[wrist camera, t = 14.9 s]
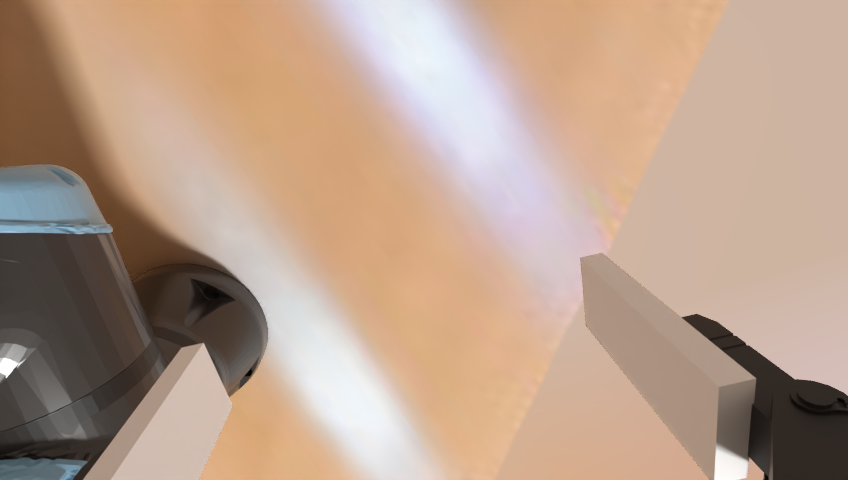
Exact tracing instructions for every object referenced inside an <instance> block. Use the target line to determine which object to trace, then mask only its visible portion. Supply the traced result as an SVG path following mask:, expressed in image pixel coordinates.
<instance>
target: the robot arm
mask: <svg viewBox="0 0 848 480" xmlns="http://www.w3.org/2000/svg"><path fill="white" fill-rule="evenodd" d="M111 232H113V228H112V226H111V225H110V224H108V223H106V221H105V219H104V217H103V215H102V213H101V211H100V209H99V208H98V206H97V204H96V202H95V200H94V198H93V196H92V194H91V192H90V190H89V188H88V186H87V184H86V183H85V181H84V180H83V179H82V178H81V177H80V176H79V175H78V174H76V173H75V172H73V171H72V170H69V169H67V168H65V167H62V166H59V165H52V164H32V165H19V166H6V167H0V480H199V478H200V476H201V474H202V472H203V470H204V467H205V465H206V463H207V461H208V459H209V456H210V454H211V452H212V450H213V448H214V446H215V443H216V441H217V439H218V437H219V435H220V433H221V430H222V428H223V426H224V424H225V422H226V420H227V417H228V415H229V413H230V411H231V409H232V407H233V405H232V403H231V401H230V398H229V397H230V396H232V395H233V394H234V393H235V392H236V391H237V390H239V389H240V388H241V387H242V386H243V385H244V384H245V383H246V382H247V381H248V380H249V379H250V378H251V377H252V375H253V374H254V373H255V371H256V370H257V368H258V366H259V364H260V362H261V359H262V357H263V355H264V352H265V350H266V346H267V341H268V328H267V322H266V318H265V316H264V313H263V311H262V309H261V307H260V305H259V303H258V302H257V300H256V299H255V298H254V296H253V295H252V294H251V293H250V292H249V291H248V290H247V289H246V288H245V287H244V286H243V285H241V284H240V283H239V282H237V281H236V280H234V279H233V278H231V277H230V276H228V275H226V274H224V273H222V272H219V271H217V270H214V269H211V268H208V267H204V266H199V265H192V264H173V265H166V266H162V267H158V268H155V269H152V270H150V271H148V272H146V273H144V274H142V275H141V276H139V277H138V278H136V279H135V280H134V281H133V282H132V281H131V279H130V277H129V274H128V272H127V270H126V267H125V265H124V262H123V260H122V257H121V255H120V253H119V250H118V248H117V245H116V243H115V240H114V238H113V236H112V233H111ZM580 260H581V272H582V285H583V297H584V309H585V320H586V326H587V328H588V329H589V330H590V332H591V333H592V334H593V335H594V336H595V338H596V339H597V340H598V341H599V343H600V344H601V345H602V346H603V348H604V349H605V350H606V351H607V352H608V354H609V355H610V356H611V358H612V359H613V360H614V361H615V363H616V364H617V365H618V366H619V367H620V369H621V370H622V371H623V373H624V374H625V375H626V376H627V378H628V379H629V380H630V381H631V382H632V384H633V385H634V386H635V387H636V389H637V390H638V391H639V392H640V394H641V395H642V396H643V397H644V399H645V400H646V401H647V402H648V403H649V405H650V406H651V407H652V408H653V410H654V411H655V412H656V414H657V415H658V416H659V417H660V419H661V420H662V421H663V422H664V423H665V425H666V426H667V427H668V428H669V429H670V431H671V432H672V433H673V435H674V436H675V437H676V438H677V440H678V441H679V442H680V443H681V445H682V446H683V447H684V448H685V450H686V451H687V452H688V453H689V455H690V456H691V457H692V458H693V460H694V461H695V462H696V463H697V464H698V466H699V467H700V468H701V469H702V471H703V472H704V473H705V474H706V476H707V477H708V478H709V479H710V480H738V479H742V478H747V477H748V466H749V457H750V458H751V459H752V460H753V461H754V462H755V464H756V465H757V466H758V467H759V468H760V469H761V470H762V471H763V472H764V479H763V480H848V396H847V395H846V394H845V393H843V392H841V391H839V390H837V389H835V388H833V387H831V386H829V385H825V384H822V383H818V382H815V381H808V380H795V379H793V378H792V377H791V376H789V375H788V374H787V373H785V372H784V371H783V370H781V369H780V368H779V367H777V366H776V365H775V364H773V363H772V362H770V361H769V360H768V359H766V358H765V357H764V356H762V355H761V354H760V353H758V352H757V351H756V350H754V349H753V348H752V347H750V346H747V345H746V343H745V342H743V341H742V340H741V339H739V338H738V337H737V336H733V333H731V332H730V331H729V330H727V329H726V328H725V327H723V326H722V325H720V324H719V323H718V322H716V321H713V320H711V319H708V318H706V317H703V316H701V315H698V314H694V315H690V316H686V317H680V316H679V315H678V314H676V313H675V312H674V311H673V310H672V309H670V308H669V307H668V306H667V305H665V304H664V303H663V302H662V301H661V300H659V299H658V298H657V297H656V296H654V295H653V294H652V293H651V292H649V291H648V290H647V289H646V288H645V287H643V286H642V285H641V284H639V283H638V282H637V281H636V280H635V279H634V278H632V277H631V276H630V275H629V274H627V273H626V272H625V271H624V270H622V269H621V268H620V267H619V266H617V265H616V264H615V263H614V262H613V261H611V260H610V259H609V258H608V257H607V256H605V255H604V254H603V253H600V254H595V255H591V256H586V257H582V258H580Z"/></svg>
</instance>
